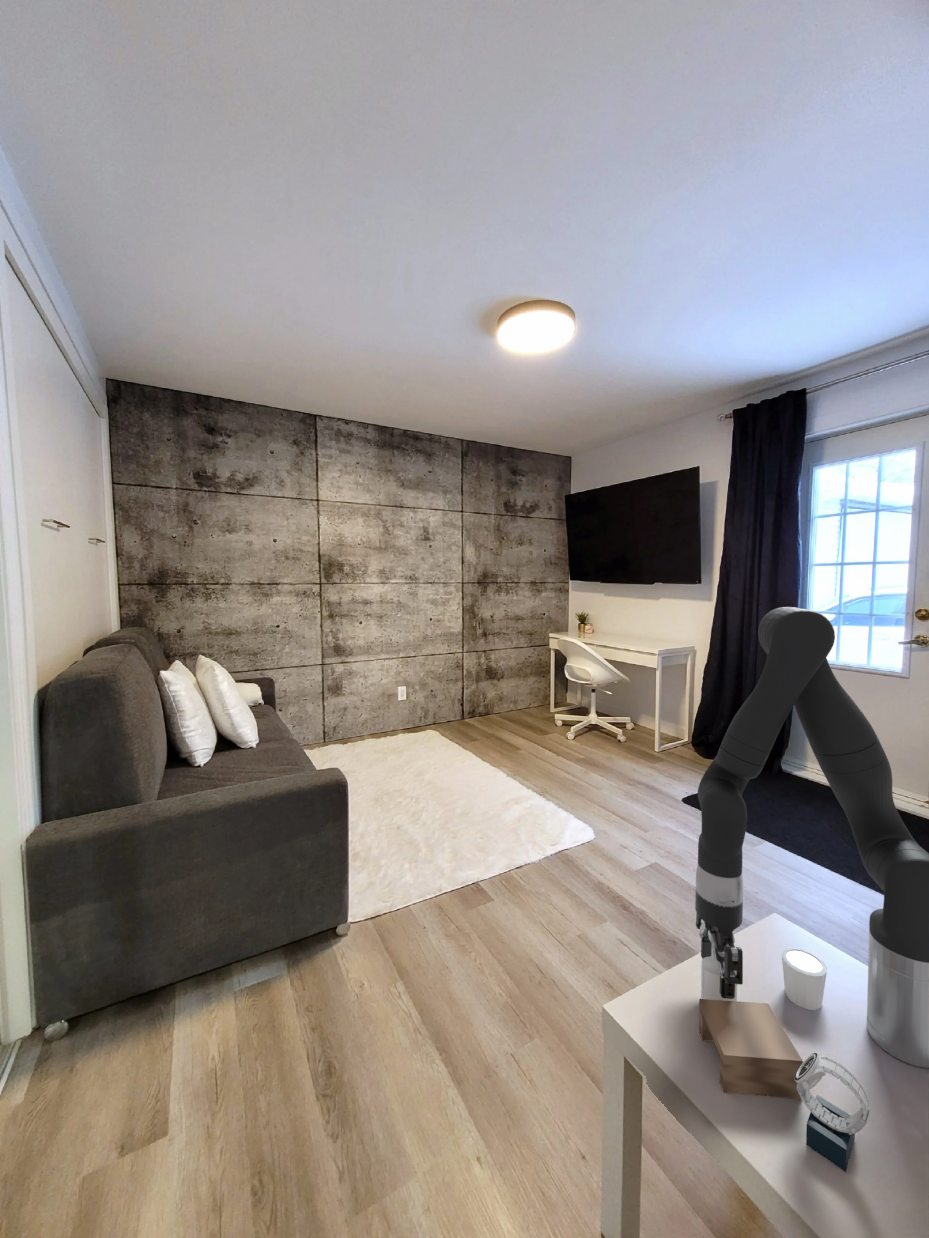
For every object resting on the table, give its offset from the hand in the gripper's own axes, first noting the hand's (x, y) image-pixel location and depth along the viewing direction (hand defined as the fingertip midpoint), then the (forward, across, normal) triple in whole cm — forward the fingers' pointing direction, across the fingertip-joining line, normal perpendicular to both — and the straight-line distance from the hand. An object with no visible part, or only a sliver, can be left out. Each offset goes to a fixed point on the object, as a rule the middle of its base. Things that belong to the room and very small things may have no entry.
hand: (716, 977), depth 88 cm
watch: (+5, -22, -6) cm, 23 cm away
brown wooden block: (+5, -11, 0) cm, 12 cm away
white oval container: (+5, +3, -16) cm, 17 cm away
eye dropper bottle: (+5, 0, 0) cm, 5 cm away
